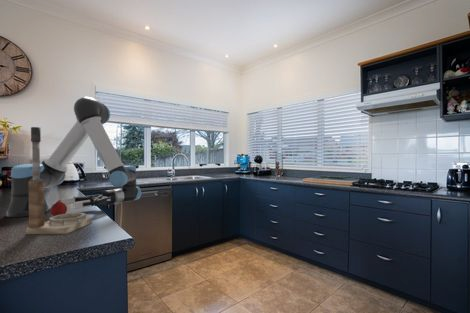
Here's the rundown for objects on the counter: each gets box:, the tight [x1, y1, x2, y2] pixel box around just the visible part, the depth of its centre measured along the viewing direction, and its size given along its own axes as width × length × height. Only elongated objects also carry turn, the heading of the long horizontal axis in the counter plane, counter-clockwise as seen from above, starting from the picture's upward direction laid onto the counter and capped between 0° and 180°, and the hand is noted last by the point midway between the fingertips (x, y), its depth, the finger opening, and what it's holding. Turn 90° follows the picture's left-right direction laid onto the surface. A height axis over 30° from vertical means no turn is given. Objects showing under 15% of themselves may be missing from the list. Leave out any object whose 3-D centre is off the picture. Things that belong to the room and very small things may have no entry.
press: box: [25, 126, 92, 235], centre depth 90 cm, size 14×14×37 cm
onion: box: [49, 199, 68, 217], centre depth 104 cm, size 6×6×8 cm
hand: (66, 204), depth 106 cm, fingers open, 13 cm apart
